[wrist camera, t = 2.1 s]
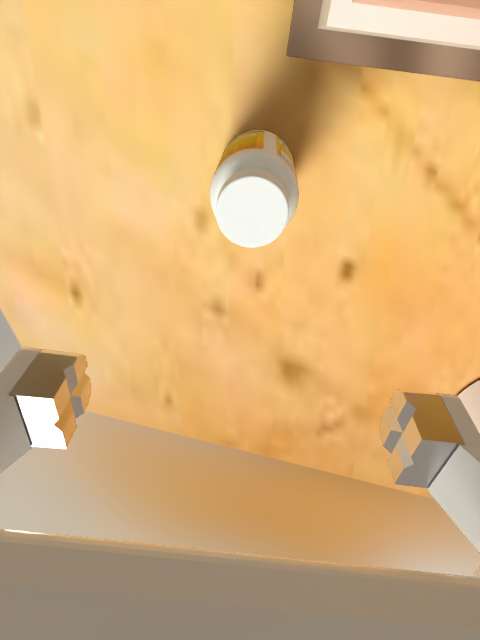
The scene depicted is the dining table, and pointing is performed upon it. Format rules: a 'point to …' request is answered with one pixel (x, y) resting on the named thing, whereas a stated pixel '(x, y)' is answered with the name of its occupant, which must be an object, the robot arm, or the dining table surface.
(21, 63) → the dining table surface
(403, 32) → the pink white stepped block
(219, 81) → the dining table surface
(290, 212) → the supplement bottle
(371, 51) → the baseplate
